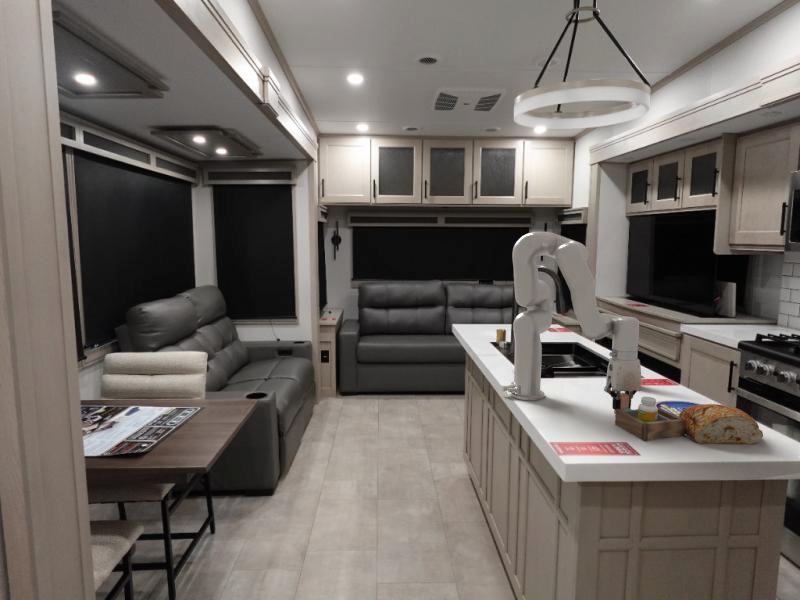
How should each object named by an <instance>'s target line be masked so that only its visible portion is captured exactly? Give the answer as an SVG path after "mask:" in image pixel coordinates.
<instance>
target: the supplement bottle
mask: <svg viewBox="0 0 800 600" xmlns="http://www.w3.org/2000/svg"><path fill="white" fill-rule="evenodd" d="M656 404H657V400H656V398H654V397H651V396H642V397H640V404H638V407H637V409H638V419H639V420H641V421H643V422H653V421H657V417H658V408H659V407H658V406H657V405H656ZM657 407H658V408H657Z"/></svg>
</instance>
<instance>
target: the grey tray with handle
mask: <svg viewBox="0 0 800 600" xmlns="http://www.w3.org/2000/svg"><path fill="white" fill-rule="evenodd" d="M620 400H621V410H622V411H624V412H626V413H628V414H630V415H632V416H634V417H636V418H638V408H637V409H632V408H631V409H630V408H629V395H628V394H625V392H624V391H621V392H620ZM613 413H614V415H615V413H616V410H614V409H613ZM666 420H671V419H669V418H667V417H664V416H662V415H660V414H658V417H657V421H666ZM657 421H653V422H657ZM645 423H647V422H645Z"/></svg>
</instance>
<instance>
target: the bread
mask: <svg viewBox="0 0 800 600" xmlns="http://www.w3.org/2000/svg"><path fill="white" fill-rule="evenodd" d="M678 417H680V418H682V419H685V420H686V428H685V436H687V437H689V439H691V440H693V441H694V442H695V443H699V444H730V443H739V444H740V445H754V444H757V443H759V442H761V441H762V439H763V437H764V433H763V431H762V430H761V429H760V426H759V424H758V422H757V421H756V419H754V418H753V417H752V416H751V415H749V414H748V413H746V412H745V411H743V410H741V409H740V408H736V407H733V406H730V405H725V404H715V403H713V404H712V403H707V404H706V403H705V404H694V405H690V406H688V407H686V408H684V409H683V410H682V411H680V412H679V415H678Z"/></svg>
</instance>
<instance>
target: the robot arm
mask: <svg viewBox="0 0 800 600" xmlns="http://www.w3.org/2000/svg"><path fill="white" fill-rule="evenodd" d="M538 256H539V257H541V256H547V257H550V258H553V259H555V261H556V263H557V266H558V268H559V270H560V272H561V274H562V276H563V278H564V280H565V283H566V284H567V286H568V289H569V291H570V297H571V303H572V307H573V312H574V315H575V317H576V319H577V322H578V324H579V326H580V327H581V330H582V331H583V334H585V335H586V336H587V338H590V339H591V340H601V339H603V338H605V337H608V336H612V345H611V346H612V347H611V351H610V352H609V357H611V358H610V359H609V362H608V366H607V370H606V378H605V380H606V385H605V386H604V388H603V391H604V392H606V393H607V394H609V395H610V397H611V398H612V404H611V405H612V408H611V409H613V411H614V410H616V409H620V410H621V400H620V393H622V392H623V393H625V394H628V395H629V408H630V409H632V399H634V396H635V394H636V393H637V392H638V391H640V390H642V368H641V361H640V359H639V358H638V353H639V352H638V351H639V350H638V349H639V336H640V335H639V334H640V320H639V319H638V318H636V317H633V316H629V315H628V316H627V315H622V316H619V315H615V314H612V313H607V312H606V313H605V312H602V313H601V312H600V311H599V308H598V306H597V303H596V300H595V299H596V298H595V289H596V279H595V278H594V276H593V273H592V271H591V270H590V267H589V265H588V264H587V263H588V262H587V261H588V258H589V251H588V248H587V247H586V246H585V245H584V244H583V243H581V242H579V241H576V240H574V239H571V238H568V237H565V236H563V235H559V234H557V233H554V232H551V231H531V232H528V233H526V234H524V235H522V236H521V237H520V238H518V240H517V241H516V242H515V243H514V245H513V248H512V265H513V266H512V267H513V283H514V284H513V285H514V298H515V301H516V304H517V305H518V306H520V307H523V308H526V310H525V311H522V312H520V313H518V314H517V315H516V317H514V321H513V323H512V330H513V335H514V336H513V337H514V368H513V369H514V370H513V374H514V375H513V381H512V382H511V383H510V384H509V385H502V386H501V391H502V392H507V393H509V395H510V396H511V397H512V398H514V399H516V400H521V401H540V400H543V399H544V398H545V396H546V395H545V391H543V390H542V389H541V382H542V381H541V379H542V377H541V376H542V355H543V354H542V353H543V351H542V350H543V349H542V339H541V334H544V333H545V332H547V331H548V330H549V329H550V328H551V326H552V323H553V312H552V295H551V294H552V293H551V290H550V287H549V285H548V283H546V282H545V281H544V280H542V279H539V269H538V268H539V267H538V264H537V262H536V258H537V257H538Z"/></svg>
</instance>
